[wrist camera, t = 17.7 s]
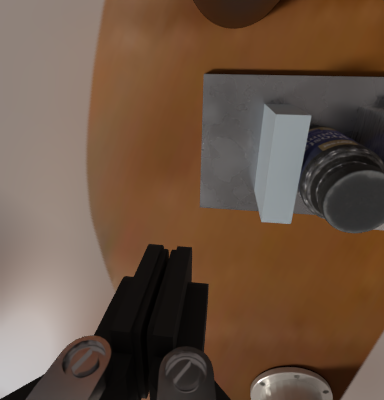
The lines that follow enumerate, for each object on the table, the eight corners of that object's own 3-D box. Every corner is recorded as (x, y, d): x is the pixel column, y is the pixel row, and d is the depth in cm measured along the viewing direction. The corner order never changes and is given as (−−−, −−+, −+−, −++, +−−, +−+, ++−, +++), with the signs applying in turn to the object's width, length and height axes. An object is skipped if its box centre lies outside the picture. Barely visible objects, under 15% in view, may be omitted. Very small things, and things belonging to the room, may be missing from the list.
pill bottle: (328, 112, 26) (389, 137, 16) (358, 161, 28) (430, 212, 18) (271, 150, 28) (294, 194, 18) (302, 194, 30) (339, 256, 20)
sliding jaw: (277, 191, 30) (290, 223, 24) (254, 190, 30) (261, 221, 24) (291, 104, 26) (311, 115, 20) (264, 103, 27) (276, 114, 20)
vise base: (366, 214, 31) (408, 257, 24) (200, 203, 33) (193, 240, 26) (410, 77, 25) (484, 80, 18) (204, 73, 27) (196, 75, 20)
